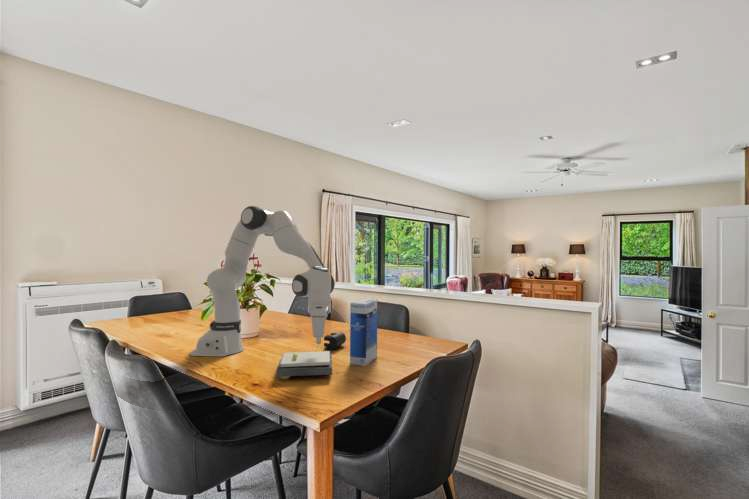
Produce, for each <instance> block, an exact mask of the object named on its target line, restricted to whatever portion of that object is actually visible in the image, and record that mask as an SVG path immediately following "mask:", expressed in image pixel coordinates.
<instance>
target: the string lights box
mask: <svg viewBox="0 0 749 499" xmlns="http://www.w3.org/2000/svg"><path fill="white" fill-rule="evenodd" d="M349 308H350V309H349V312H350V313H349V314H350V315H349V316H350V317H349V320H350V325H349V327H350V330H349V335H350V336H349V341H350V342H349V346H350V347H349V364H350V365H355V366H356V365H357V366H363V367H366V366H367V365H369V364H370V363H371V362H373V361H374V360H375V359H377V358H378V299H374V298H372V299H371V298H360V299H358V300H355V301H352V302H350V307H349Z"/></svg>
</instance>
